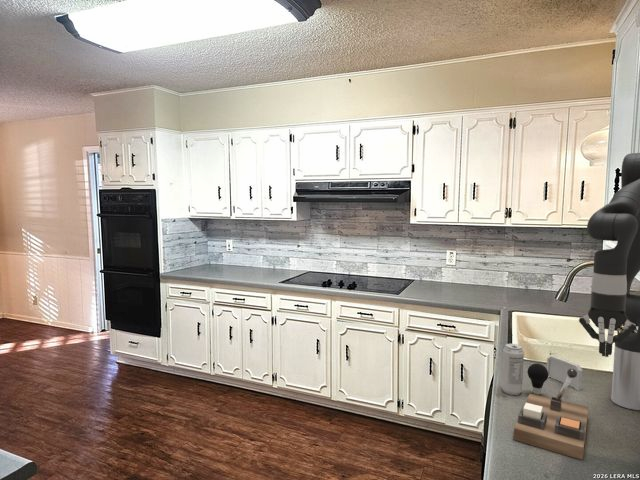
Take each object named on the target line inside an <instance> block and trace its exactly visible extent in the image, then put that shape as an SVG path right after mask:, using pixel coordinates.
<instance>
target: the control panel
mask: <svg viewBox="0 0 640 480" xmlns="http://www.w3.org/2000/svg"><path fill="white" fill-rule="evenodd" d="M556 397H557V396H553V395H552V396H551V397H546V396H543V395H540V394H539V395H535V394H534V393H529V394H528V396H527V399H526V401H525V403H524V405H523V406H522V407H521V409H520V410H519V413H518V415H517V416H518V417H517V420H516V422H515V425H514V427H513V440H514V441H517V442H520V443H524V444H527V445H531V446H535V447H538V448H541V449H545V450H547V451H552V452H554V453H558V454H561V455H565V456H568V457H571V458H575V459H578V460H584V452H585V444H586V436H587V435H586V434H587V426H588V420H589V419H588V418H589V406H586V405H582V404H578V403H574V402H568V401H564V400H563V398H562V399H561V400H560V401H559V400H557V399H556ZM526 403H530V404H534V405H538V406H542V407H543V412H542V417H541V420H538V419H535V418H531V417H527V416H523V408H524V406H525V404H526ZM562 417H563V418H567V419H571V420H575V421H579V422H580V428H579V430H577V429H573V428H569V427H565V426H561V425H560V422H561V418H562Z"/></svg>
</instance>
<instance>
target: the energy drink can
mask: <svg viewBox="0 0 640 480" xmlns="http://www.w3.org/2000/svg"><path fill="white" fill-rule="evenodd" d="M502 351H503V352H502V366H501V367H502V368H501V369H502V370H501V371H502V372H501V390H502V391H503V393H505V394H508V395H511V396H519V395H520V394H521V393H522V391H523V382H524V381H523V379H524V378H523V377H524V361H525V360H524V359H525V357H524V356H525V352H524V350H523V346H521V345H520V344H518V343H517V344H516V343H506V344H505V346H504V348H503V349H502Z"/></svg>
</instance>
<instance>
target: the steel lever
mask: <svg viewBox="0 0 640 480" xmlns="http://www.w3.org/2000/svg"><path fill="white" fill-rule="evenodd" d="M567 374H568V376H567V378H566V380H565V382H564V383H562V385H561V388H560V390H559V391H558V394H557V395H556V396H555V397H556V399H557V400H559V401H560V400H561V399H562V400H563V397H564V395H565V393H566V391H567V389H568V387H570V386H569V384H570V382H571V380H572V378H575V377H576V376H577V371H576V370H574V369H569V370H568V371H567Z"/></svg>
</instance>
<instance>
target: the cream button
mask: <svg viewBox="0 0 640 480" xmlns="http://www.w3.org/2000/svg"><path fill="white" fill-rule="evenodd" d="M525 403H526V402H525ZM525 403H524V405H525V406H524V405H523V407H524V408H523V416H527V417H531V418H535V419H538V420H541V417H542V412H543V407H542V406H538V405H534V404H530V403H526V404H525Z"/></svg>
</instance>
